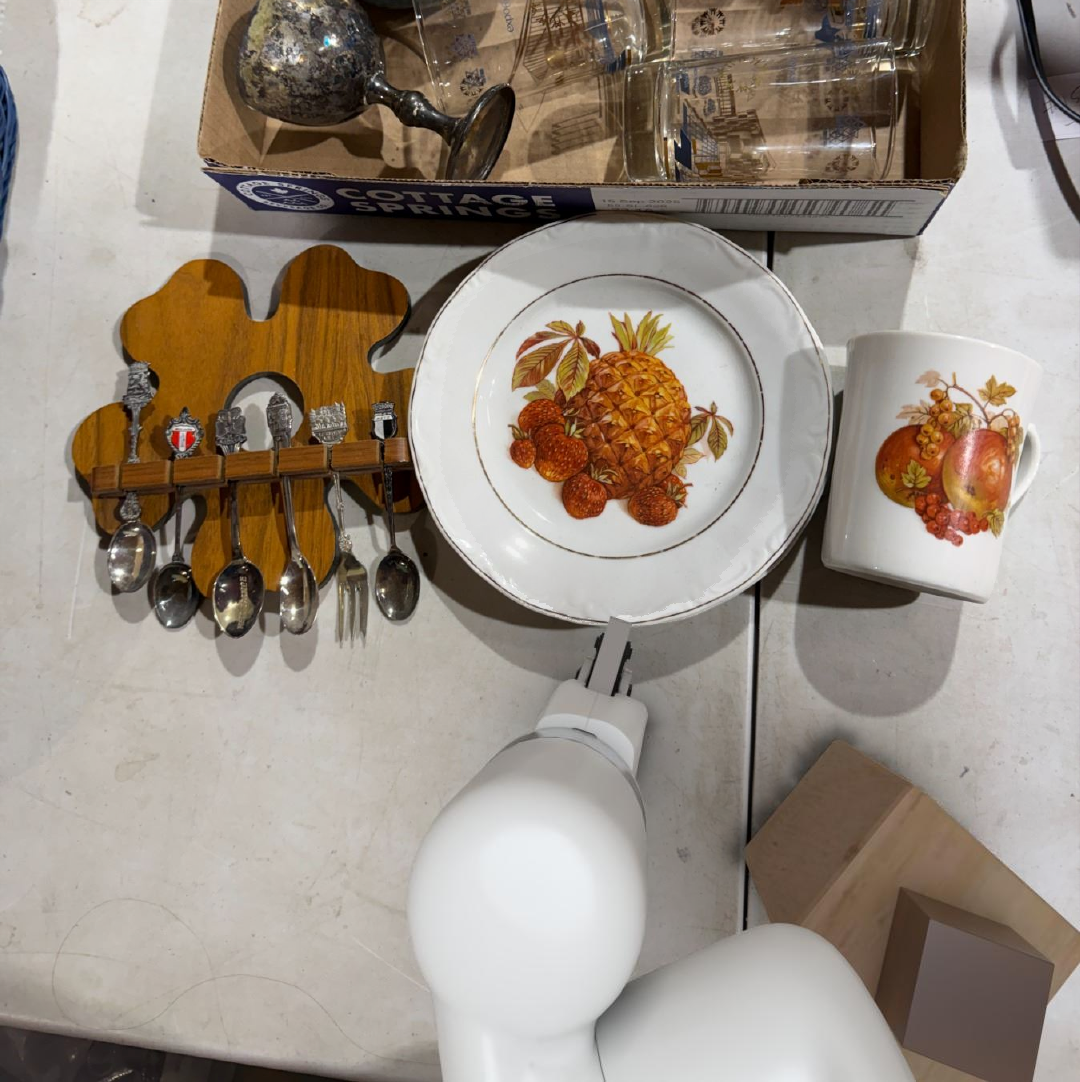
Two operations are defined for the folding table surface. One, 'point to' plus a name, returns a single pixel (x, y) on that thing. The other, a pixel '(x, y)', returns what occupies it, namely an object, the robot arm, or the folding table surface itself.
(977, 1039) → the walnut cube
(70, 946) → the folding table surface
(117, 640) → the folding table surface
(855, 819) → the wooden block
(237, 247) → the folding table surface
